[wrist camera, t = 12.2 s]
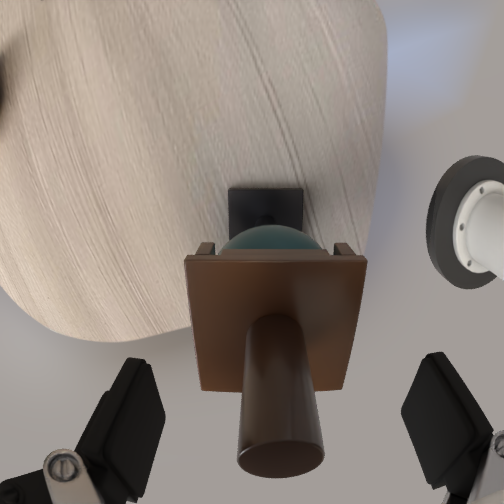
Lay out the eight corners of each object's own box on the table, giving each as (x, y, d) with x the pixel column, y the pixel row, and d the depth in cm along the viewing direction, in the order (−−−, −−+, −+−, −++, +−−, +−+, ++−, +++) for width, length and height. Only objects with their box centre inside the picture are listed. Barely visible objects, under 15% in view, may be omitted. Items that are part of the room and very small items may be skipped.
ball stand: (302, 188, 28) (361, 250, 12) (299, 256, 31) (339, 377, 14) (228, 188, 28) (189, 251, 12) (230, 256, 31) (204, 379, 14)
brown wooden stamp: (353, 242, 13) (444, 361, 5) (334, 363, 15) (367, 492, 8) (194, 241, 13) (120, 367, 5) (207, 364, 16) (179, 495, 8)
